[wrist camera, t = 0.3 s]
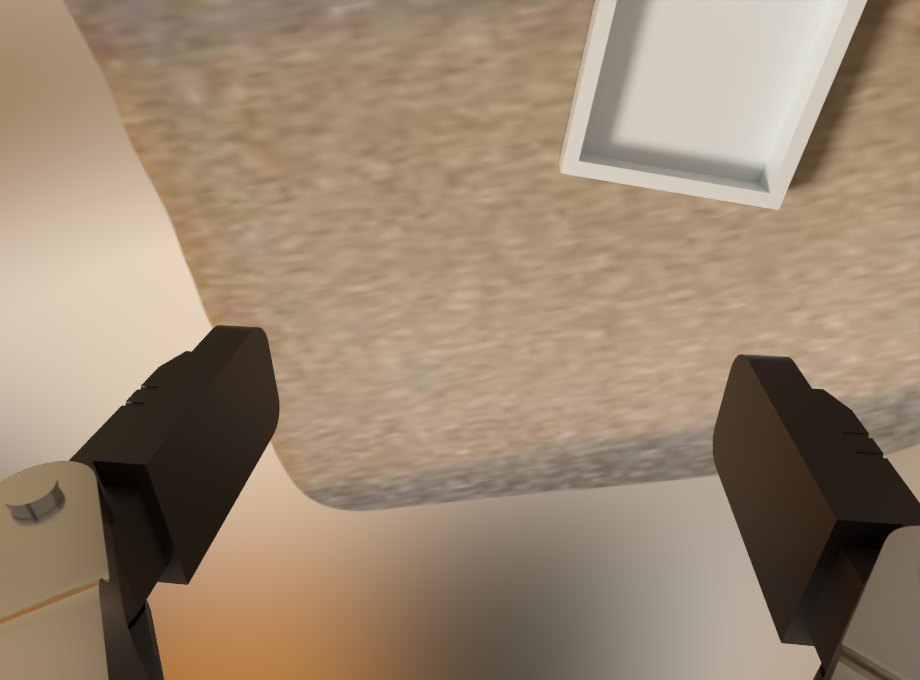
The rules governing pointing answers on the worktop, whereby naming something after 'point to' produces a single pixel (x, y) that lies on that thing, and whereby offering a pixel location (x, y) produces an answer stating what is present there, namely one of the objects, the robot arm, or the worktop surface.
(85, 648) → the robot arm
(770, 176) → the tray
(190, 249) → the worktop surface
